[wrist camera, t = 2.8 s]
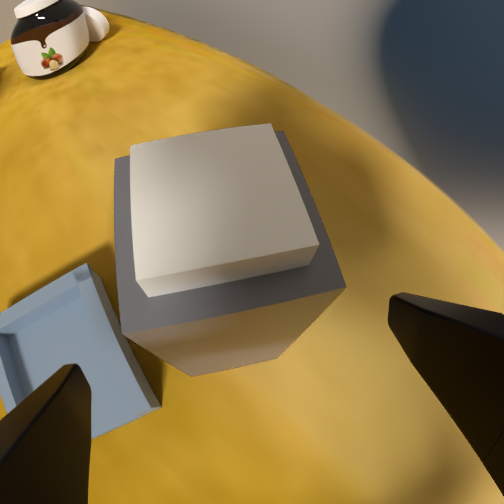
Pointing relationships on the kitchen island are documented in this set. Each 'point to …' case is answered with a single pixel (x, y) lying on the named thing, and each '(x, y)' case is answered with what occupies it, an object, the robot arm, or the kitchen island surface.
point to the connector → (219, 248)
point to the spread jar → (54, 35)
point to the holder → (73, 349)
